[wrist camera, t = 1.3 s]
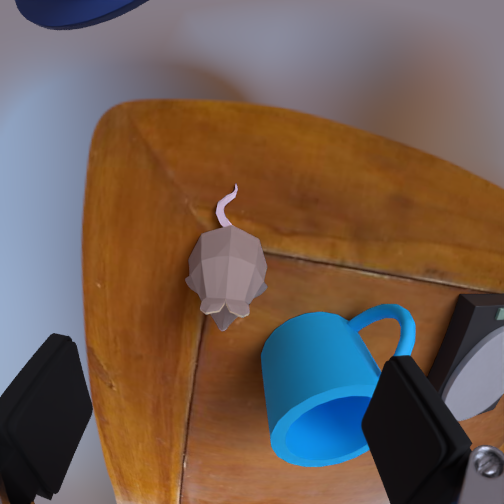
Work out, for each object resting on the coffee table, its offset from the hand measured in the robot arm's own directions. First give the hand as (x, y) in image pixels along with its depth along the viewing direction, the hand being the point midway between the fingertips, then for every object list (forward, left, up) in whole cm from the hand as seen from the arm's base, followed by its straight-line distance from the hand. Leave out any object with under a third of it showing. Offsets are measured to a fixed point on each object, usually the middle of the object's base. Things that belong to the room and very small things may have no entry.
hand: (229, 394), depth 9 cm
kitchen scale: (+10, +26, -13) cm, 31 cm away
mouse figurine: (0, 0, -13) cm, 13 cm away
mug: (+7, +8, -13) cm, 17 cm away
